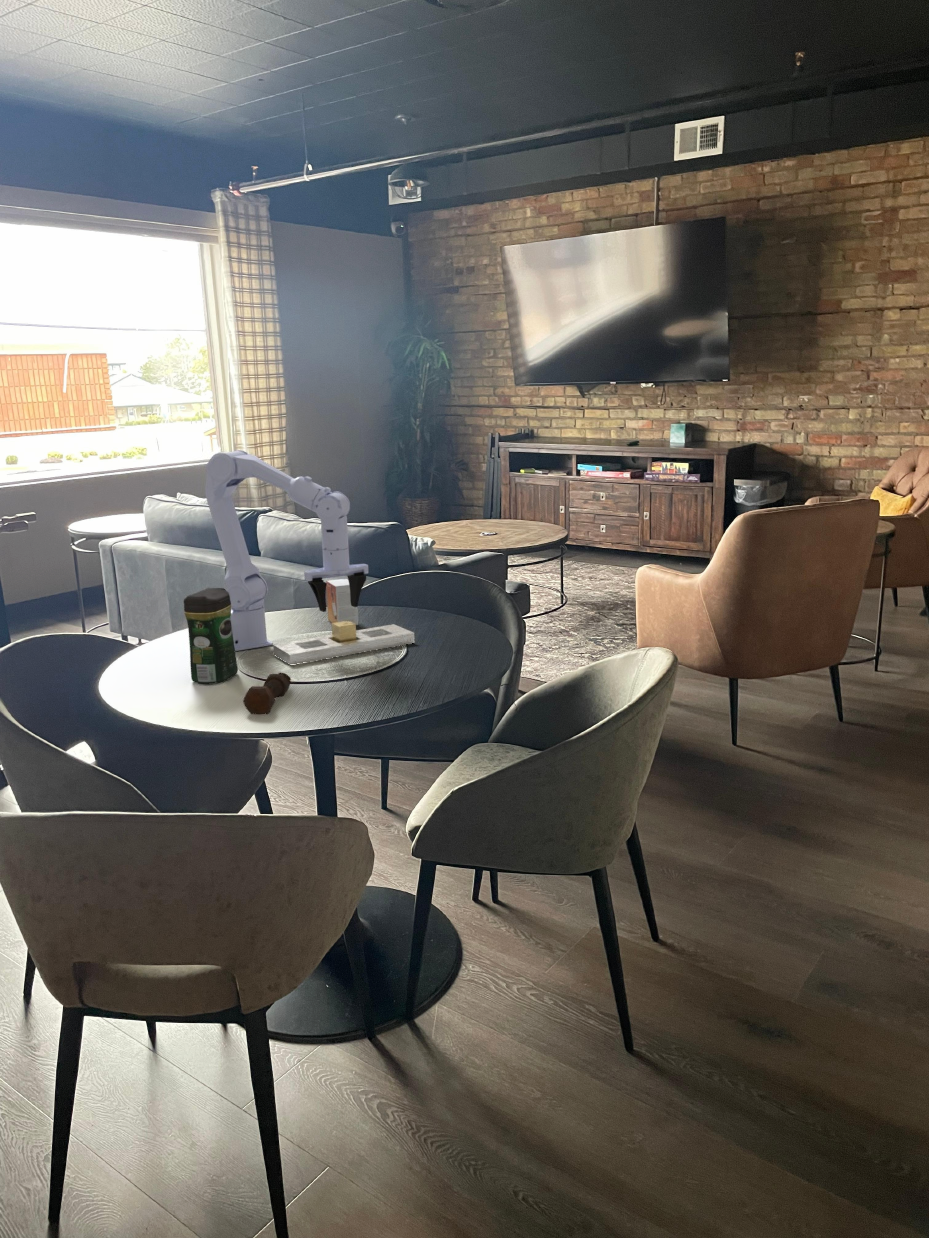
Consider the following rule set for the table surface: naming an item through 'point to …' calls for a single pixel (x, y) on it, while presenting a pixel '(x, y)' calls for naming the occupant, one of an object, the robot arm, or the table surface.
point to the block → (343, 631)
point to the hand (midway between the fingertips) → (338, 608)
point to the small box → (340, 602)
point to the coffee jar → (210, 636)
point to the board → (343, 644)
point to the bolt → (266, 693)
